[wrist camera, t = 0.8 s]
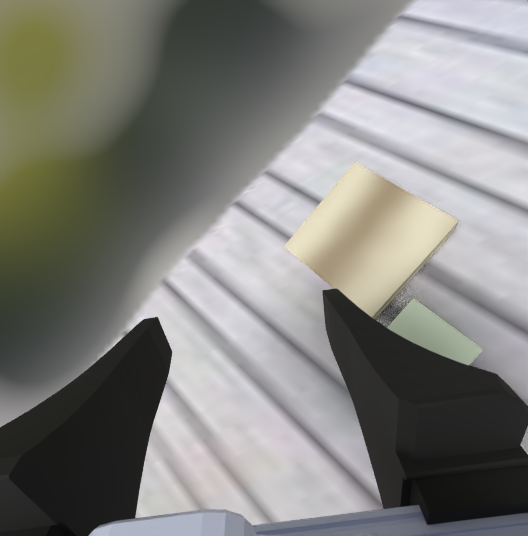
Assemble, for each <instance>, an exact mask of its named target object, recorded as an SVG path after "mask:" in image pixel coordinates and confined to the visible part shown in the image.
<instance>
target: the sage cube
mask: <svg viewBox="0 0 528 536" xmlns="http://www.w3.org/2000/svg"><path fill="white" fill-rule="evenodd" d="M387 328H388V329H390V330H391V331H393V332H395V333H396V334H398V335H400V336H402V337H403V338H405V339H407V340H409V341H411V342H413V343H415V344H417V345H419V346H421V347H423V348H426V349H428V350H430V351H432V352H435V353H437V354H439V355H442V356H444V357H447V358H449V359H452V360H455V361H457V362H460V363H463V364H466V365H470V364H471V363H472V362H473V361H474V359H475V358H476V357H477V356H478V355H479V354H480V353H481V352H482V351H483V349H482V348H481V347H479V346H478V345H477V344H475V343H474V342H472V341H471V340H470V339H468V338H467V337H466V336H464V335H463V334H462V333H460V332H459V331H457V330H456V329H455V328H453V327H452V326H451V325H449V324H448V323H447V322H445V321H444V320H443V319H441V318H440V317H438V316H437V315H436V314H434V313H433V312H432V311H430V310H429V309H428V308H426V307H425V306H424V305H422V304H421V303H419V302H418V301H417V300H415V299H414V298H413V299H412V300H411V301H410V303H409V304H408V305H407V306H406V307H405V308H404V309H403V310H402V311H401V312H400V314H399V315H398V316H397V317H396V318H395V319H394V320H393V321H392V322H391V323H390V325H389V326H388V327H387Z"/></svg>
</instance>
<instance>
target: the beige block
mask: <svg viewBox="0 0 528 536" xmlns="http://www.w3.org/2000/svg"><path fill="white" fill-rule="evenodd" d="M458 222H459V221H458V220H456V219H455V218H453V217H451V216H449V215H447V214H446V213H444V212H442V211H440V210H439V209H437V208H435V207H433V206H432V205H430V204H428V203H426V202H424V201H423V200H421V199H419V198H417V197H416V196H414V195H412V194H410V193H409V192H407V191H405V190H403V189H401V188H400V187H398V186H396V185H394V184H393V183H391V182H389V181H387V180H386V179H384V178H382V177H380V176H378V175H377V174H375V173H373V172H371V171H370V170H368V169H366V168H364V167H362V166H361V165H359V164H357V163H355V162H354V164H353V165H352V166H351V167H350V168H349V170H348V171H347V172H346V173H345V174H344V176H343V177H342V178H341V179H340V180H339V181H338V183H337V184H336V185H335V186H334V187H333V189H332V190H331V191H330V192H329V193H328V195H327V196H326V197H325V198H324V199H323V201H322V202H321V203H320V204H319V205H318V207H317V208H316V209H315V210H314V211H313V212H312V214H311V215H310V216H309V217H308V218H307V220H306V221H305V222H304V223H303V224H302V226H301V227H300V228H299V229H298V230H297V232H296V233H295V234H294V235H293V236H292V238H291V239H290V240H289V241H288V242H287V243H286V245H285V246H284V247H285V248H286V249H287V250H289V251H290V252H291V253H292V254H293V255H294V256H296V257H297V258H298V259H299V260H300V261H302V262H303V263H304V264H305V265H306V266H308V267H309V268H310V269H311V270H312V271H314V272H315V273H316V274H317V275H318V276H320V277H321V278H322V279H323V280H324V281H326V282H327V283H328V284H329V285H330V286H332V287H333V288H334V289H336V288H337V289H338V290H340V291H341V292H342V293H343V294H344V295H345V296H346V297H347V298H349V299H350V300H351V301H352V302H353V303H354V304H356V305H357V306H358V307H359V308H360V309H362V310H363V311H364V312H365V313H367V314H368V315H369V316H371V317H372V318H373V319H376V318H377V317H378V315H379V314H380V313H381V312H382V311H383V310H384V309H385V308H386V307H387V305H388V304H389V303H390V302H391V301H392V300H393V299H394V298H395V297H396V296H397V294H398V293H399V292H400V291H401V290H402V289H403V288H404V287H405V286H406V284H407V283H408V282H409V281H410V280H411V279H412V278H413V277H414V276H415V274H416V273H417V272H418V271H419V270H420V269H421V268H422V267H423V266H424V265H425V263H426V262H427V261H428V260H429V259H430V258H431V257H432V256H433V255H434V253H435V252H436V251H437V250H438V249H439V248H440V247H441V246H442V245H443V243H444V242H445V241H446V240H447V239H448V238H449V237H450V236H451V235H452V234H453V232H454V230H455V228H456V226H457V224H458Z"/></svg>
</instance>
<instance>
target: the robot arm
mask: <svg viewBox="0 0 528 536" xmlns="http://www.w3.org/2000/svg"><path fill="white" fill-rule="evenodd" d="M323 302H324V313H325V324H326V331H327V334H328V338H329V342H330V345H331V349H332V351H333V354H334V356H335V359H336V361H337V364H338V366H339V368H340V371H341V373H342V376H343V378H344V380H345V383H346V385H347V388H348V390H349V393H350V395H351V398H352V401H353V403H354V406H355V410H356V413H357V416H358V419H359V423H360V426H361V429H362V433H363V436H364V440H365V443H366V446H367V450H368V453H369V457H370V460H371V464H372V468H373V471H374V475H375V478H376V482H377V485H378V489H379V493H380V496H381V500H382V504H383V508H384V509H381V510H373V511H365V512H357V513H349V514H341V515H333V516H325V517H317V518H309V519H301V520H292V521H284V522H276V523H268V524H260V525H251V524H250V523H249V522H248V521H247V520H246V519H245V518H244V517H243V516H242V515H241V514H238V513H234V512H231V511H228V510H197V511H190V512H182V513H174V514H166V515H158V516H150V517H143V518H135V515H136V508H137V502H138V495H139V489H140V483H141V477H142V472H143V466H144V461H145V455H146V451H147V446H148V441H149V436H150V432H151V429H152V425H153V421H154V418H155V415H156V412H157V409H158V406H159V403H160V400H161V397H162V393H163V390H164V387H165V384H166V381H167V377H168V374H169V369H170V363H171V357H172V350H171V348H170V345H169V343H168V341H167V338H166V336H165V334H164V331H163V329H162V326H161V324H160V322H159V319H158V317H155V318H148V319H144V320H142V321H141V322H140V323H139V324H138V325H136V326H135V327H134V328H133V329H132V330H131V331H130V332H129V333H128V334H127V335H126V336H125V337H123V338H122V339H121V340H120V341H119V342H118V343H117V344H116V345H115V346H114V347H113V348H112V349H110V350H109V351H108V352H107V353H106V354H105V355H104V356H103V357H101V358H100V359H99V360H98V361H97V362H96V363H94V364H93V365H92V366H91V367H90V368H89V369H87V370H86V371H85V372H84V373H82V374H81V375H80V376H79V377H77V378H76V379H75V380H74V381H72V382H71V383H69V384H68V385H67V386H65V387H64V388H63V389H61V390H60V391H58V392H57V393H55V394H54V395H52V396H51V397H49V398H48V399H46V400H45V401H43V402H42V403H40V404H39V405H37V406H36V407H34V408H32V409H31V410H29V411H28V412H26V413H24V414H23V415H21V416H19V417H18V418H16V419H14V420H12V421H11V422H9V423H7V424H5V425H4V426H2V427H0V536H528V455H527V453H526V452H525V451H524V450H523V448H522V447H521V446H520V444H521V441H522V439H523V436H524V434H525V431H526V429H527V426H528V406H527V405H526V404H525V403H524V402H523V401H522V400H521V399H520V397H519V396H518V395H517V394H516V393H515V392H514V391H513V390H512V389H511V387H510V386H509V385H508V384H506V383H505V382H504V381H503V380H502V379H501V378H500V377H499V376H498V375H497V374H495V373H491V372H488V371H485V370H482V369H479V368H476V367H472V366H469V365H466V364H463V363H460V362H457V361H455V360H452V359H449V358H447V357H444V356H442V355H439V354H437V353H435V352H432V351H430V350H428V349H426V348H423V347H421V346H419V345H417V344H415V343H413V342H411V341H409V340H407V339H405V338H403V337H402V336H400V335H398V334H396V333H395V332H393V331H391V330H390V329H388V328H386V327H385V326H383V325H382V324H380V323H379V322H377V321H376V320H375V319H373V318H372V317H371V316H369V315H368V314H367V313H365V312H364V311H363V310H362V309H360V308H359V307H358V306H357V305H356V304H354V303H353V302H352V301H351V300H350V299H349V298H347V297H346V296H345V295H344V294H343V293H342V292H341V291H340V290H338V289H337V288H336V289H330V290H323Z"/></svg>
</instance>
